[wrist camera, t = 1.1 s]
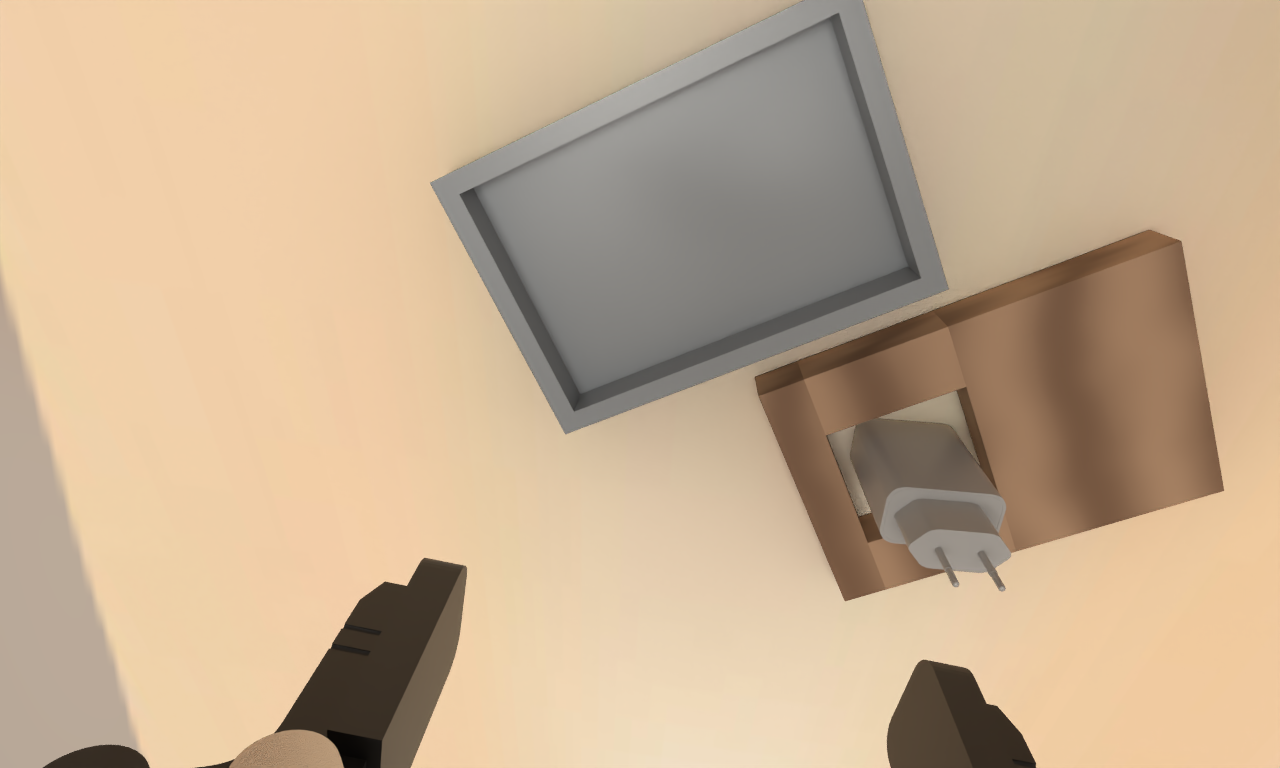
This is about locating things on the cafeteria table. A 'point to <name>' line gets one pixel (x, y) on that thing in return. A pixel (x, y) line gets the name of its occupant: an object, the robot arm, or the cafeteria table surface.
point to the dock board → (1020, 403)
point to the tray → (702, 216)
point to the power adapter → (930, 496)
